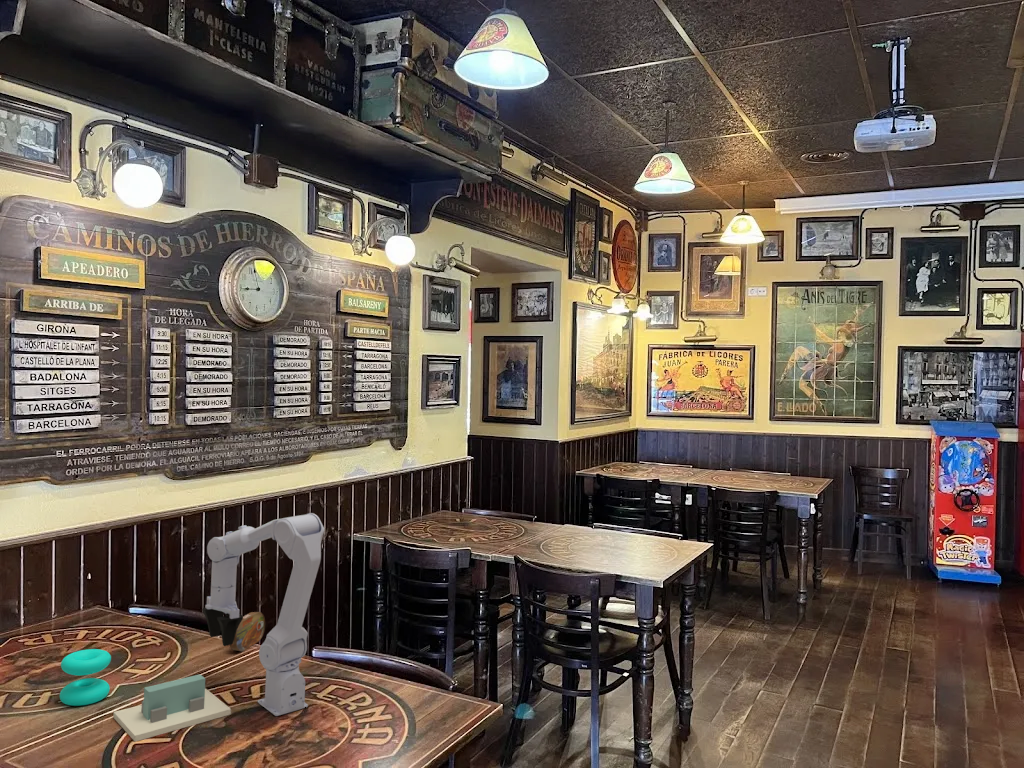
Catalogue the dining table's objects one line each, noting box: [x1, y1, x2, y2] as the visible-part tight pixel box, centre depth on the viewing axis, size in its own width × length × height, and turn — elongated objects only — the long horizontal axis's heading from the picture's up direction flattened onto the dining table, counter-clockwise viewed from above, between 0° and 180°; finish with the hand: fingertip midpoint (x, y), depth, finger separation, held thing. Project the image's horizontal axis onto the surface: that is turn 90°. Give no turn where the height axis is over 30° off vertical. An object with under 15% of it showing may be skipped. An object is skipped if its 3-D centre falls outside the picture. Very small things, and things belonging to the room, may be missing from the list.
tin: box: [228, 611, 266, 652], centre depth 208 cm, size 15×3×8 cm, turn 168°
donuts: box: [59, 648, 112, 707], centre depth 171 cm, size 10×10×10 cm
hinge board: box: [112, 688, 232, 742], centre depth 164 cm, size 14×20×4 cm
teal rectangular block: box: [143, 673, 206, 720], centre depth 165 cm, size 3×12×6 cm, turn 134°
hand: (221, 640), depth 183 cm, fingers open, 7 cm apart
